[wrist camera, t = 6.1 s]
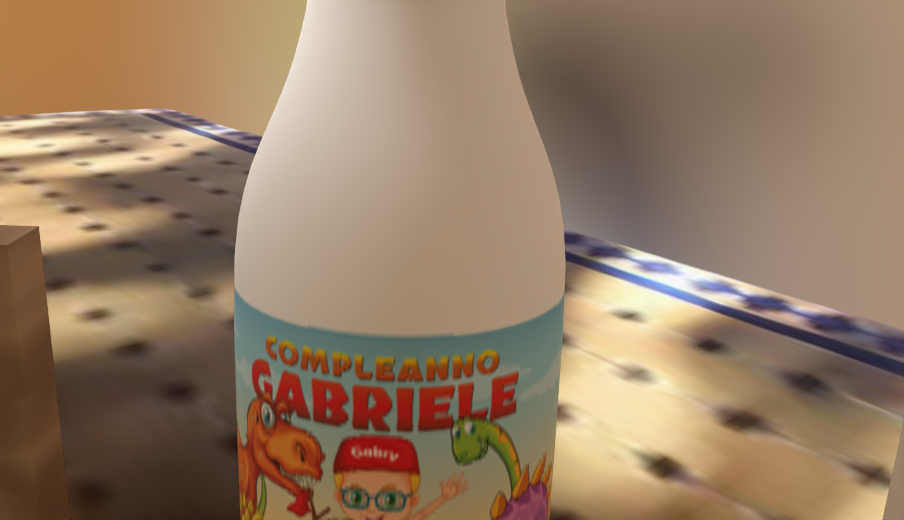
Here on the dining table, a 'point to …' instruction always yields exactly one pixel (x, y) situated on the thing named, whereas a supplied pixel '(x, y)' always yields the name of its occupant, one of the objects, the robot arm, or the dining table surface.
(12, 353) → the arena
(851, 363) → the dining table surface
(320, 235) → the milk bottle
